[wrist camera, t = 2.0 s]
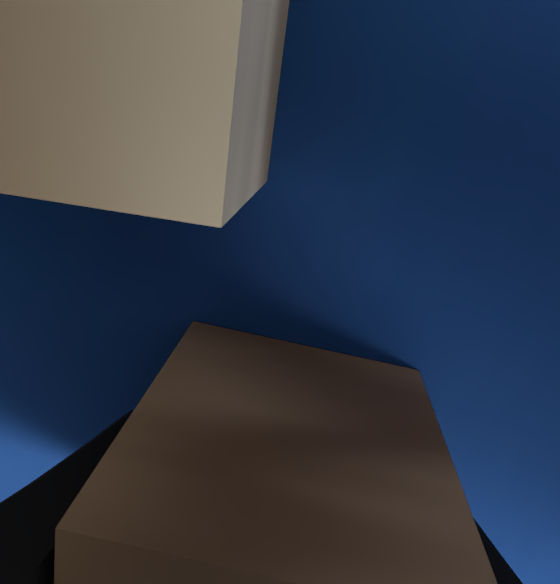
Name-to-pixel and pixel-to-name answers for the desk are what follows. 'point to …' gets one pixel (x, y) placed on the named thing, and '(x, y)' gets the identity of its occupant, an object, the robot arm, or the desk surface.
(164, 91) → the beech base
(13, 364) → the desk surface
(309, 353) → the walnut block
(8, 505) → the robot arm
